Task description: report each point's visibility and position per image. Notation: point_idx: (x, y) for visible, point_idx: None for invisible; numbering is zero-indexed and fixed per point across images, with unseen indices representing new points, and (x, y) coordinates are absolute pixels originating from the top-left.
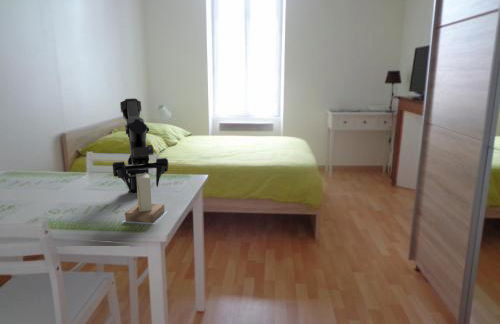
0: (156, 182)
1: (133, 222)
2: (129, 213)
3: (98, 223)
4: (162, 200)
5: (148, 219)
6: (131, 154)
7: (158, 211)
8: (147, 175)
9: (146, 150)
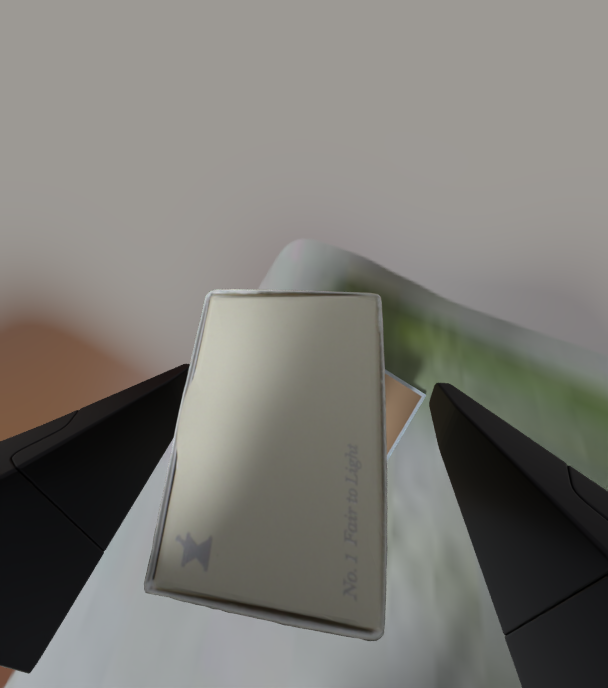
0: (175, 376)
1: None
2: (398, 382)
3: (533, 439)
4: (191, 643)
5: None
6: None
7: None
8: (205, 408)
9: None
